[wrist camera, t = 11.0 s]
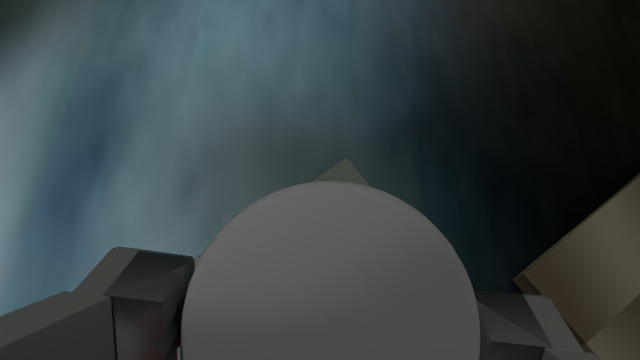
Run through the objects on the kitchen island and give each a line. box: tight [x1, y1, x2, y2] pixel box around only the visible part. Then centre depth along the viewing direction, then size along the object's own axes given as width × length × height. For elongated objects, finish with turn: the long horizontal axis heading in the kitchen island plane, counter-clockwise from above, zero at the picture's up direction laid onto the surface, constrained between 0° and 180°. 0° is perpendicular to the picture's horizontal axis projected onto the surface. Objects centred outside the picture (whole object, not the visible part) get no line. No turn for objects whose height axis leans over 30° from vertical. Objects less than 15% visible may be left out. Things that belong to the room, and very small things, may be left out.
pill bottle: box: [180, 181, 481, 360], centre depth 11 cm, size 5×5×9 cm
